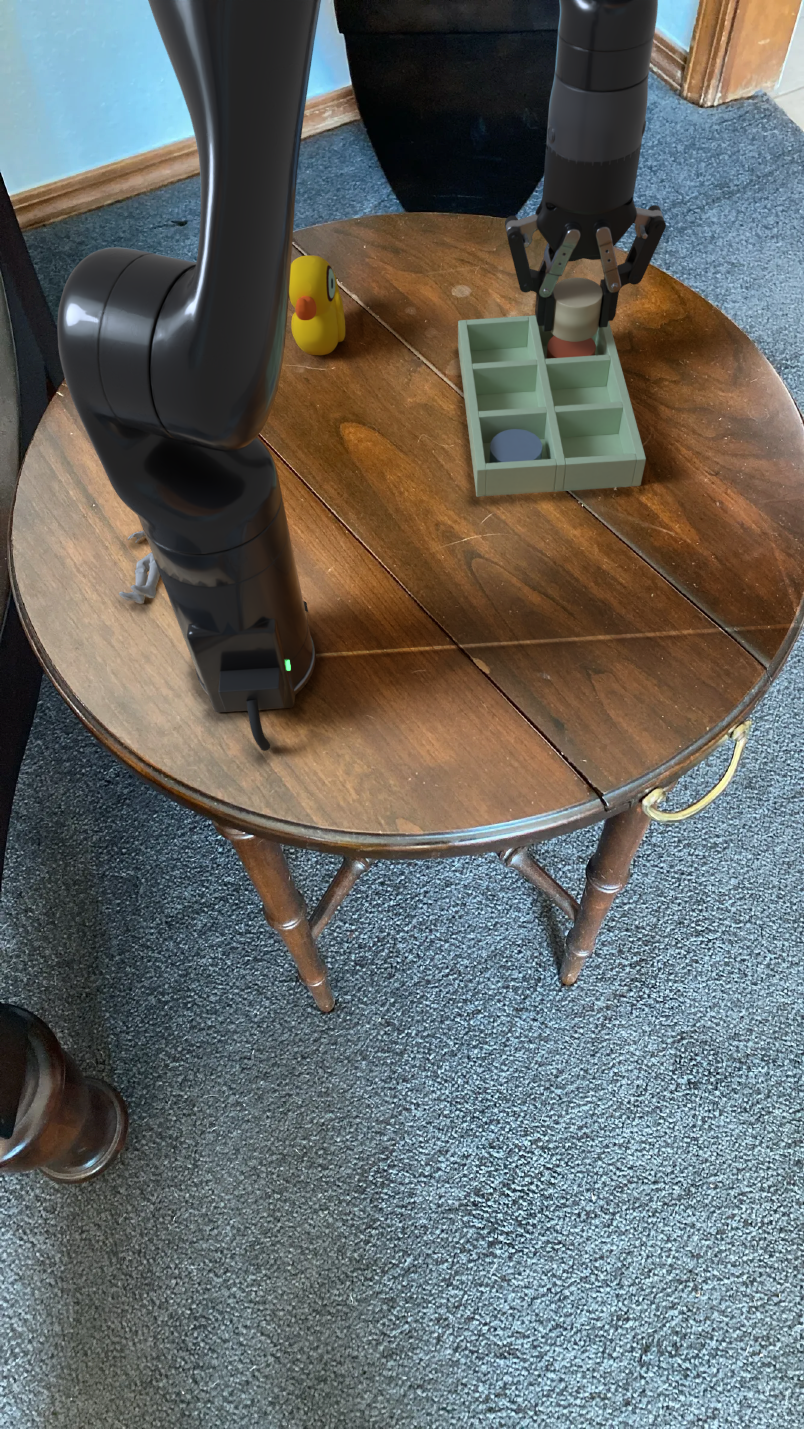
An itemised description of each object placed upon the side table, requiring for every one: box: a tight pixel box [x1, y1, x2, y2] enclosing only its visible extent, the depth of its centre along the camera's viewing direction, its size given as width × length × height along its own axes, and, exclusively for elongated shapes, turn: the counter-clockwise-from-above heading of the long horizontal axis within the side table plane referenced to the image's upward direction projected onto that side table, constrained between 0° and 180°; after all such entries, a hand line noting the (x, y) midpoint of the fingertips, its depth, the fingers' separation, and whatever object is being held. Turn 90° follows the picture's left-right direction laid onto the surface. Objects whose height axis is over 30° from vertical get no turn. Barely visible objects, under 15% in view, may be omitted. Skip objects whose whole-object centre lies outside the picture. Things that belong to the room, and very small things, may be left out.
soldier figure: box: [118, 530, 161, 605], centre depth 82 cm, size 8×5×12 cm
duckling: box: [288, 254, 346, 356], centre depth 95 cm, size 11×5×10 cm, turn 174°
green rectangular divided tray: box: [457, 314, 647, 497], centre depth 90 cm, size 14×21×4 cm
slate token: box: [489, 429, 542, 463], centre depth 86 cm, size 5×5×2 cm
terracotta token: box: [546, 336, 596, 359], centre depth 94 cm, size 5×5×2 cm
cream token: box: [551, 276, 603, 342], centre depth 90 cm, size 5×5×4 cm
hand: (573, 323), depth 91 cm, fingers closed on cream token, 4 cm apart
